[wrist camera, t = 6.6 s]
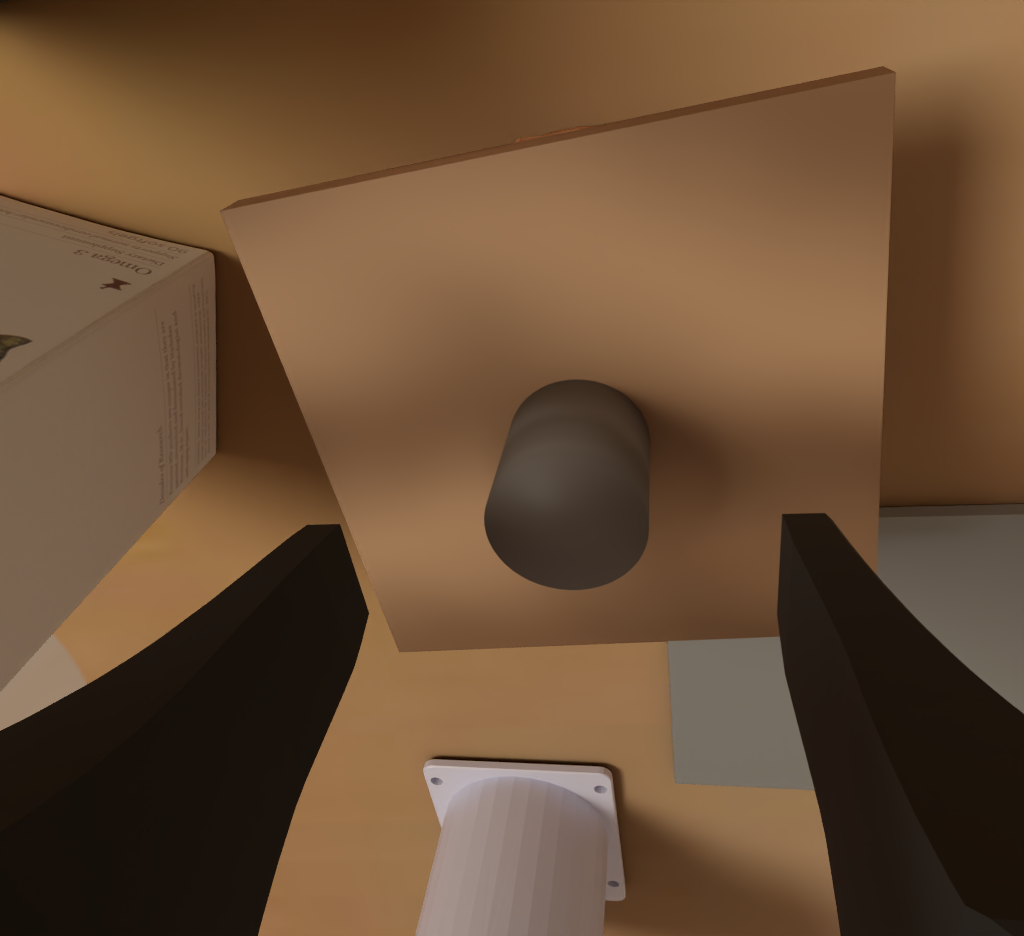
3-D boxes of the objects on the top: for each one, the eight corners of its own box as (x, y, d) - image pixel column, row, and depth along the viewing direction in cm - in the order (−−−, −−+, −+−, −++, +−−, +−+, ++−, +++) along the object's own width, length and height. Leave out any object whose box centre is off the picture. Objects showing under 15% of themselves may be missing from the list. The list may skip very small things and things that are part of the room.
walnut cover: (866, 609, 19) (908, 740, 16) (407, 631, 22) (364, 744, 18) (882, 66, 13) (958, 101, 9) (238, 200, 15) (132, 261, 12)
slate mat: (1035, 788, 28) (1040, 801, 28) (674, 772, 31) (674, 783, 31) (1135, 500, 21) (1145, 511, 21) (661, 512, 24) (661, 522, 24)
